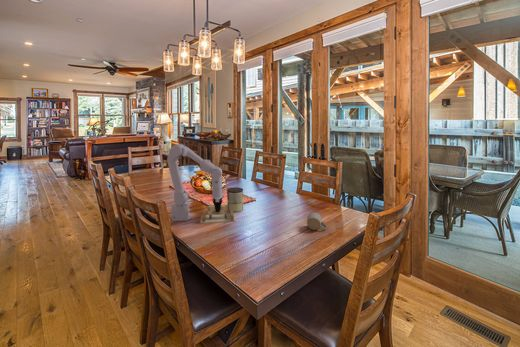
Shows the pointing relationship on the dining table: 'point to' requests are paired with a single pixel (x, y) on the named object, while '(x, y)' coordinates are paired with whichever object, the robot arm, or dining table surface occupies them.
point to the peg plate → (217, 218)
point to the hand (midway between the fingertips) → (217, 210)
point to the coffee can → (235, 199)
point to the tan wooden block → (213, 212)
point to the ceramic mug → (315, 222)
